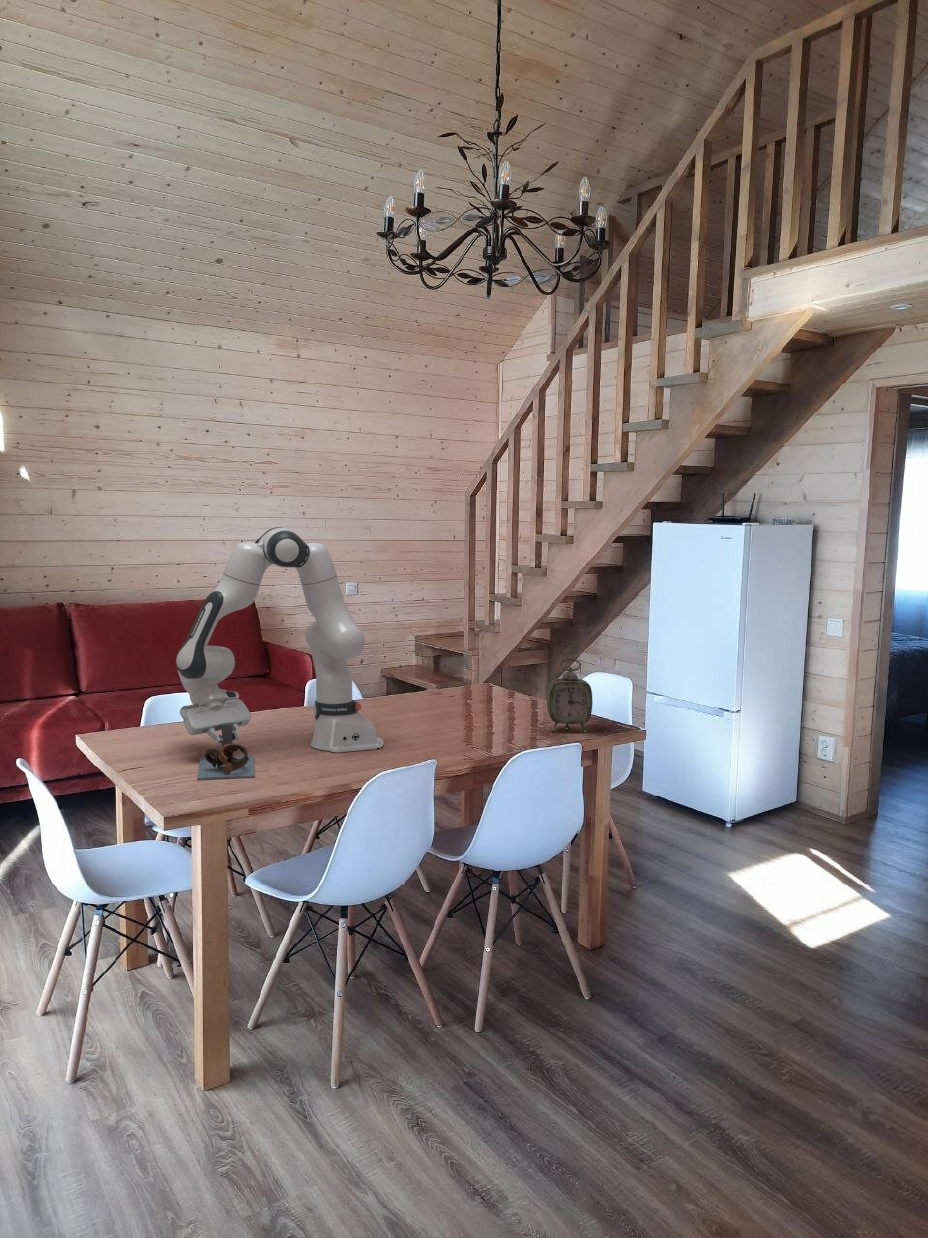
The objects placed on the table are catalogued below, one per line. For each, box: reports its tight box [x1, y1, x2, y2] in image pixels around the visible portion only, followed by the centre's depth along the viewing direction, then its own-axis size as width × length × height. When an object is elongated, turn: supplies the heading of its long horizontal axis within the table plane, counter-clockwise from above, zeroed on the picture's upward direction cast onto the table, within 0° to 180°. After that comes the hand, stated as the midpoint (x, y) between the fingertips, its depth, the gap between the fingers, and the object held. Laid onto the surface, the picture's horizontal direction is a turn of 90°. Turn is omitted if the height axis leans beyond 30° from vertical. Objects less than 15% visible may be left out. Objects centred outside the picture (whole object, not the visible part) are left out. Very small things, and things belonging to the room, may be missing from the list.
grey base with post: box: [197, 723, 256, 781], centre depth 252 cm, size 15×21×10 cm
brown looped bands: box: [203, 743, 249, 775], centre depth 248 cm, size 12×10×8 cm
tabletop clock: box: [546, 658, 594, 733], centre depth 305 cm, size 14×9×25 cm, turn 92°
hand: (228, 740), depth 260 cm, fingers closed on grey base with post, 4 cm apart
